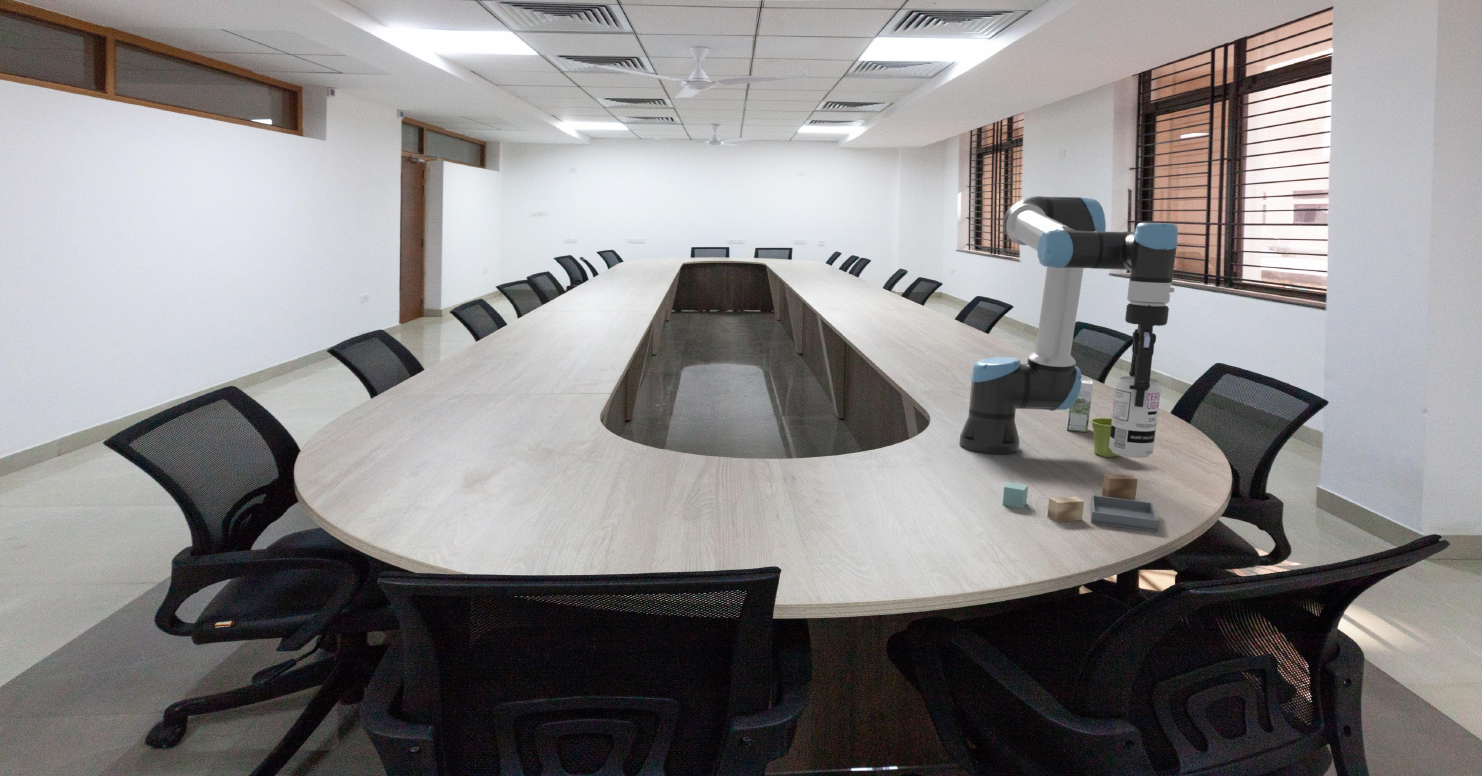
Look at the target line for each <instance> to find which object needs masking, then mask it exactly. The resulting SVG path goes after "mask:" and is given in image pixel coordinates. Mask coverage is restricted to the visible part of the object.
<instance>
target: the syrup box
mask: <svg viewBox="0 0 1482 776" xmlns="http://www.w3.org/2000/svg"><path fill="white" fill-rule="evenodd" d="M1081 381H1082V383H1081V389H1080V393H1079V396H1078V398H1077V400H1076V402H1075V403H1074V405H1073V406H1071V407H1070V408H1069V409H1067V417H1066V418H1067V419H1066V431H1070V432H1078V431H1079V433H1088V430H1089V424H1090V423H1089V422H1090V414H1091V406H1092V405H1091V404H1092V396H1093V389H1094V382H1093V380H1092V379H1085V378H1084V379H1082V378H1081Z"/></svg>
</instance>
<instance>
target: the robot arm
mask: <svg viewBox="0 0 1482 776" xmlns="http://www.w3.org/2000/svg"><path fill="white" fill-rule="evenodd" d="M1002 220H1003V221H1002V227H1003V230H1004V234H1005V235H1006V237H1008V239H1009V240H1010V241H1012V242H1013V243H1015V244H1016V245H1021V246H1028V247H1030V248H1032V249H1033V250H1035V251H1037V257H1038V262H1039V264H1040V265H1041V266H1043V267H1046V270H1045V271H1046V272H1045V279H1044V287H1043V293H1042V294H1043V295H1042V301H1041V308H1040V309H1041V310H1040V315H1039V323H1038V329H1037V335H1036V344H1035V350H1034V351H1033V352H1032V353H1030V354H1028V356H1027V363H1021V360H1020V358H1017V357H1012V356H1011V357H1010V356H1007V357H1006V356H997V357H996V356H995V357H987V358H983V359H980V360H978V361H976V362H975V363H974V364H973V367H972V373H971V377H970V382H971V385H970V395H969V407H968V408H969V409H968V416H967V419H966V421H965V423H964V426H963V428H962V430H961V432H960V435H959V443H958V444H959V445H960V446H961V447H963V448H965V449H967V450H970V451H974V452H979V453H984V454H985V453H986V454H996V455H997V454H1000V455H1001V454H1003V455H1006V454H1014V453H1016V452H1018V451H1020V442H1021V441H1020V437H1019V433H1018V429H1017V424H1016V421H1015V420H1016V419H1015V418H1016V411H1017V409H1018V410H1045V411H1059V410H1060V411H1063V410H1064V411H1065V410H1068V409H1069V408H1070V407H1071V406H1073V405H1074V403H1075V402H1076V400H1077V398H1078V396H1079V393H1080V389H1081V383H1082V381H1081V379H1082V372H1081V369H1080V368H1079V366H1076V363H1077V361H1076V360H1075V358H1074V357H1073V356H1072V355H1071V353H1072V348H1073V347H1072V346H1073V339H1074V335H1075V334H1074V333H1075V329H1076V327H1075V326H1076V321H1077V313H1078V306H1079V302H1080V301H1079V300H1080V294H1081V287H1082V282H1083V281H1082V280H1083V275H1084V269H1094V270H1096V269H1097V270H1099V269H1100V270H1124V271H1125V270H1126V271H1130V274H1129V275H1130V276H1129V282H1128V290H1127V298H1126V300H1127V301H1128V302H1129V303H1128V304H1127V305H1126V308H1125V309H1126V311H1125V317H1124V320H1125V322H1126V323H1128V324H1131V325H1137V328H1135V330H1134V331H1133V332H1132V337H1131V338H1132V345H1131V352H1132V353H1131V361H1130V369H1129V372H1128V374H1129V376H1130V377H1135V378H1134V385H1130V387H1129V389H1132V396H1131V405H1130V413H1129V422H1132V423H1142V424H1144V418H1145V410H1146V402H1147V393H1148V389H1149V387H1150V384H1149V383H1150V379H1151V372H1152V363H1153V355H1154V350H1155V344H1156V341H1157V335H1156V334H1155V333H1154V326H1157V327H1160V326H1161V327H1162V326H1165V325H1167V324H1168V321H1169V319H1168V318H1169V310H1170V308H1169V306H1168V305H1166V304H1170V301H1171V300H1170V299H1171V293H1174V292H1175V287H1172V285H1173V284H1172V283H1173V276H1174V269H1175V262H1176V255H1177V248H1178V246H1179V243H1178V232H1179V228H1178V226H1177V225H1176V224H1174V223H1166V222H1165V223H1163V222H1139V223H1137V225H1136V227H1135V231H1107V229H1106V225H1107V224H1106V215H1105V212H1104V208H1103V206H1102V204H1101V203H1100V202H1099V201H1098V200H1097V199H1094V198H1088V197H1087V198H1086V197H1081V196H1077V197H1076V196H1041V195H1040V196H1039V195H1038V196H1036V195H1035V196H1030V197H1026V198H1022V199H1021V200H1018V201H1016V202H1015V203H1014V204H1012V205H1011V206H1010V207H1009V208H1008V210H1007V211H1006V213H1005V214H1004V215H1003V219H1002Z"/></svg>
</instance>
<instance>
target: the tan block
mask: <svg viewBox="0 0 1482 776" xmlns="http://www.w3.org/2000/svg"><path fill="white" fill-rule="evenodd" d="M1047 507H1048V508H1047V518H1049V519H1051V520H1053V521H1055V522H1066V521H1067V522H1068V521H1070V522H1071V521H1081V520H1083V514H1084V507H1085V501H1084V500H1082V499H1081V498H1079V497H1077V496H1065V497H1064V496H1062V497H1049V499H1048V506H1047Z"/></svg>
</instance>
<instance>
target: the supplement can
mask: <svg viewBox="0 0 1482 776" xmlns="http://www.w3.org/2000/svg"><path fill="white" fill-rule="evenodd" d="M1134 378H1135V377H1130V375H1129V376H1126V375H1125V376H1120V378H1119V380H1118V381H1117V383H1116V384H1115V390H1114V396H1113V397H1114V399H1113V407H1112V408H1113V409H1112V414H1111V415H1112V417H1111V419H1112V424H1111V432H1110V441H1109V448H1110V449H1111V450H1112V452H1113V453H1115V454H1117V455H1120V456H1122V457H1127V458H1135V459H1143V458H1149V457H1150V455H1152V454H1154V448H1155V447H1154V446H1155V439H1156V431H1157V424H1158V414H1159V406H1160V399H1161V392H1162V390H1161V389H1162V388H1161V387H1160V384H1159V380H1157V379H1153V378H1150V383H1149V384H1150V387H1149V389H1148V393H1147V402H1146V410H1145V418H1144V424H1142V423H1132V422H1129V413H1130V405H1131V396H1132V389H1129V387H1130V385H1134Z"/></svg>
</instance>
